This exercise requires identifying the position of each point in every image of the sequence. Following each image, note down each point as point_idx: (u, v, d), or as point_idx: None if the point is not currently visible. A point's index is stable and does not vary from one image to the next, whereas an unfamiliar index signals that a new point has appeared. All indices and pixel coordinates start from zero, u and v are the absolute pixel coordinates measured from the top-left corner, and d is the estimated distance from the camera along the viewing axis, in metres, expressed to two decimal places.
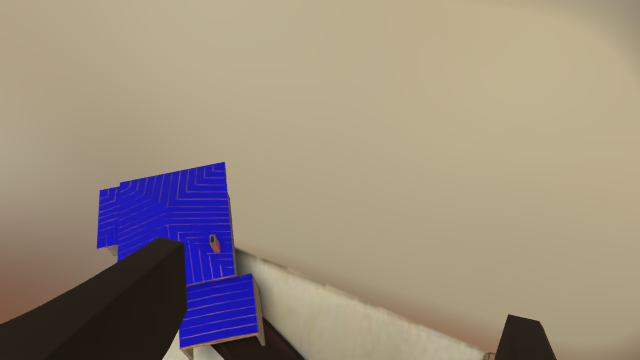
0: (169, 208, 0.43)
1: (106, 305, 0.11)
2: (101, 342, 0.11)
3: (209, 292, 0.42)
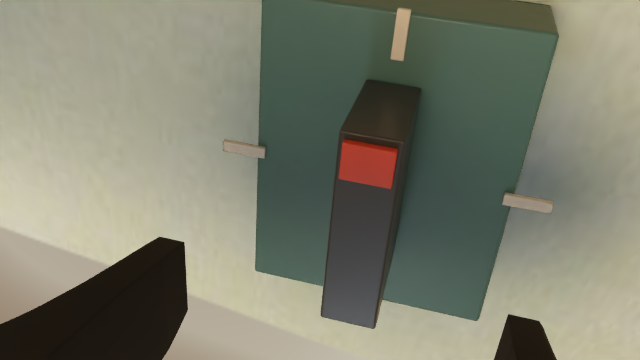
0: None
1: (106, 305, 0.11)
2: (101, 342, 0.11)
3: None
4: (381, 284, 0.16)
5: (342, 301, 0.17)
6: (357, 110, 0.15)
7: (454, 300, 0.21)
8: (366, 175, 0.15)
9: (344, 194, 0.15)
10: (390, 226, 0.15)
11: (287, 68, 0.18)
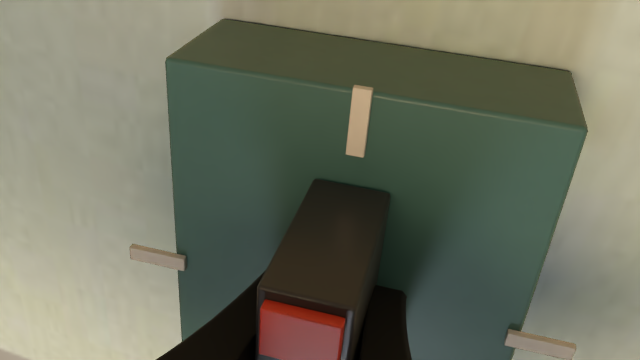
0: None
1: (249, 340, 0.10)
2: None
3: None
4: None
5: None
6: (290, 242, 0.10)
7: None
8: (298, 353, 0.10)
9: None
10: None
11: (206, 159, 0.13)
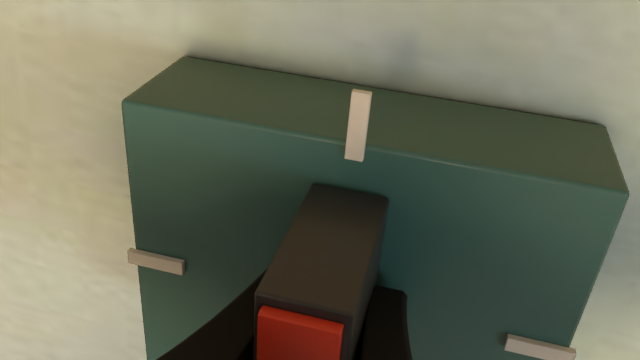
0: None
1: (249, 340, 0.10)
2: None
3: None
4: None
5: None
6: (289, 247, 0.10)
7: (575, 228, 0.11)
8: (297, 359, 0.10)
9: None
10: None
11: None
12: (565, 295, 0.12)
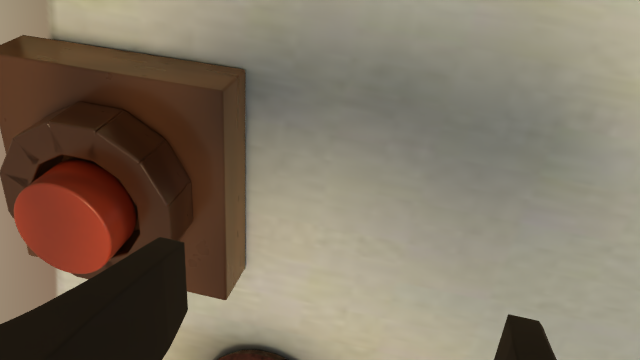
0: None
1: (106, 305, 0.11)
2: (101, 342, 0.11)
3: None
4: None
5: None
6: None
7: None
8: None
9: None
10: None
11: None
12: None
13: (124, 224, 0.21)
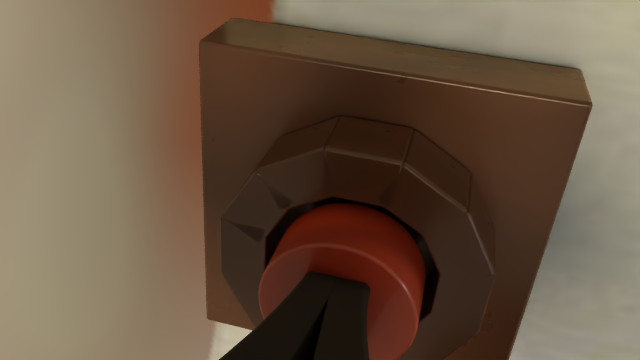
0: None
1: (295, 352, 0.10)
2: None
3: None
4: None
5: None
6: None
7: None
8: None
9: None
10: None
11: None
12: None
13: (421, 301, 0.14)
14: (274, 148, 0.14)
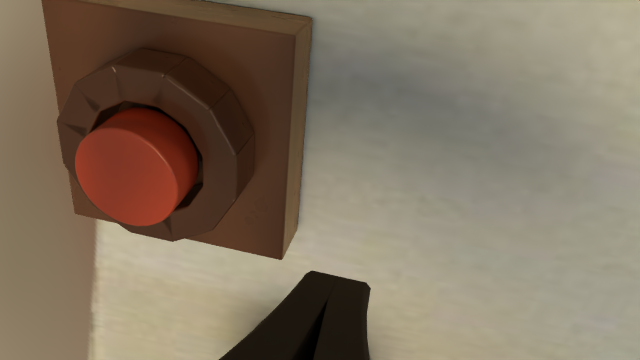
0: None
1: (295, 352, 0.10)
2: None
3: None
4: None
5: None
6: None
7: None
8: None
9: None
10: None
11: None
12: None
13: (189, 174, 0.20)
14: (93, 71, 0.21)
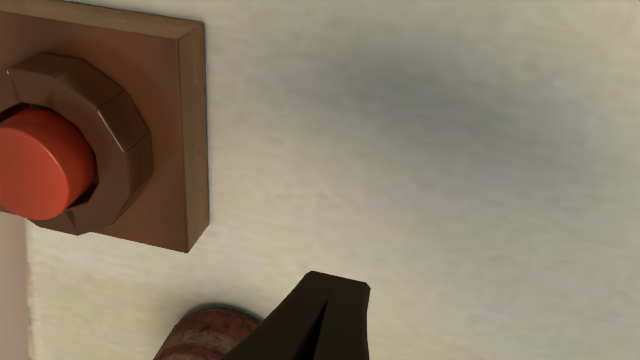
0: None
1: (295, 352, 0.10)
2: None
3: None
4: None
5: None
6: None
7: None
8: None
9: None
10: None
11: None
12: None
13: (82, 171, 0.21)
14: None
